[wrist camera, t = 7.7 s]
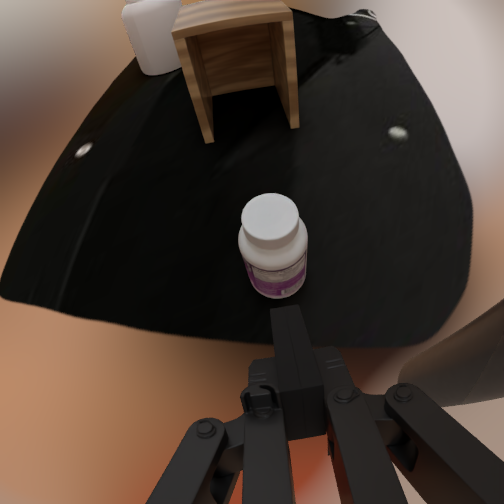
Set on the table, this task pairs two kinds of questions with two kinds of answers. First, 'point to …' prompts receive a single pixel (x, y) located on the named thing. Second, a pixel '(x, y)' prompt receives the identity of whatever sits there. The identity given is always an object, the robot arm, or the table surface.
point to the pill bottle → (273, 245)
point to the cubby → (236, 53)
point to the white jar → (152, 33)
